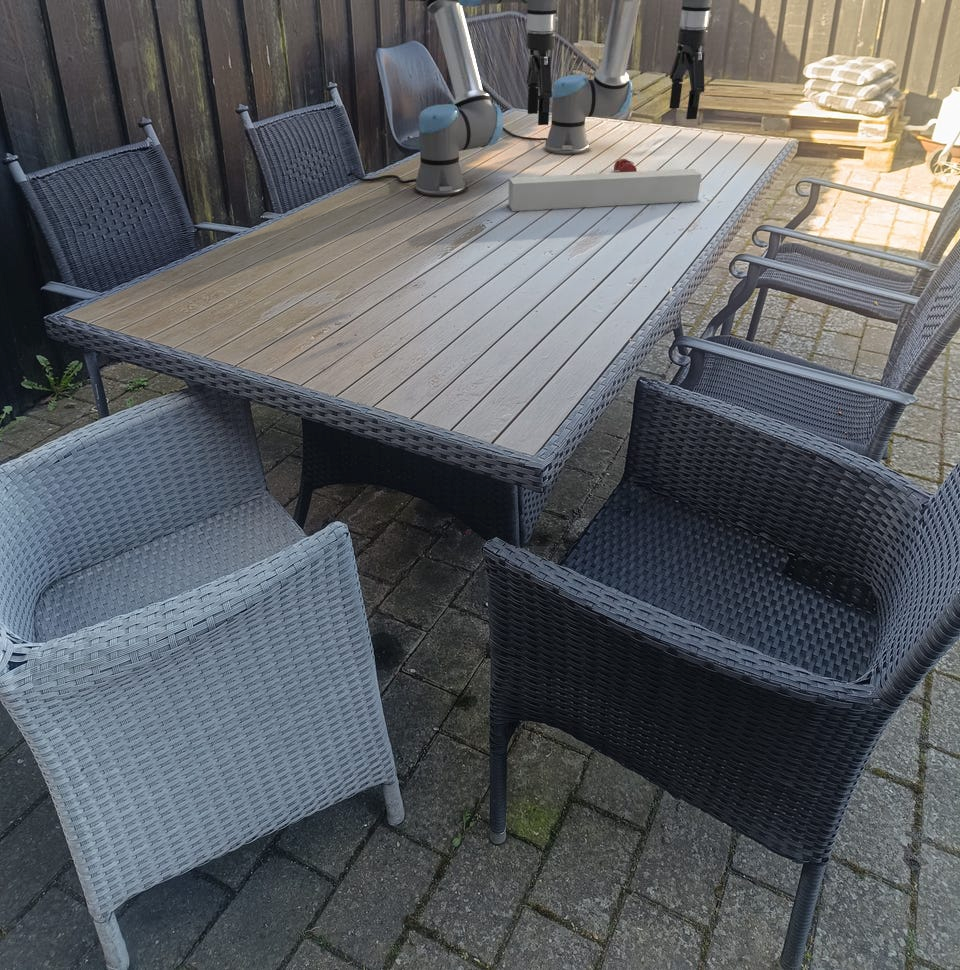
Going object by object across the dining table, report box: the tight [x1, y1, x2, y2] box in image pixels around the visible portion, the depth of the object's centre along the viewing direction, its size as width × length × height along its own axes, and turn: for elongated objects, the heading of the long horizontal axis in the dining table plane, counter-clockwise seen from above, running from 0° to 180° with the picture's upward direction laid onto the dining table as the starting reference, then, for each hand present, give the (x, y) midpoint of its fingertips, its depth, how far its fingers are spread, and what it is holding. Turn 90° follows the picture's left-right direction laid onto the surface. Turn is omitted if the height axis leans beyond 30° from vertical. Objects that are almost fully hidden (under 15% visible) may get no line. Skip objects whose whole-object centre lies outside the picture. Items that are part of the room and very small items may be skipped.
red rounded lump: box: [613, 158, 638, 172], centre depth 272 cm, size 6×4×8 cm
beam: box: [508, 168, 702, 212], centre depth 245 cm, size 56×6×8 cm, turn 99°
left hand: (537, 119), depth 231 cm, fingers open, 13 cm apart
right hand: (682, 113), depth 236 cm, fingers open, 13 cm apart
